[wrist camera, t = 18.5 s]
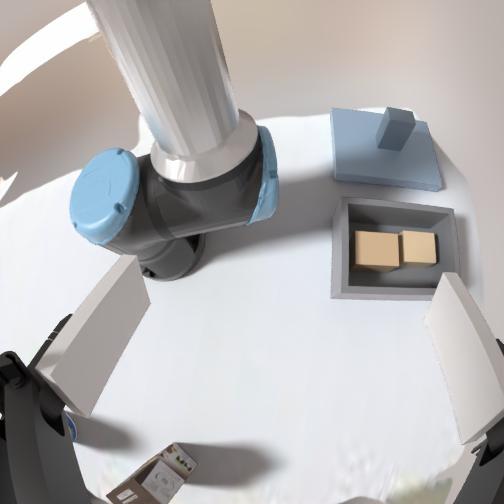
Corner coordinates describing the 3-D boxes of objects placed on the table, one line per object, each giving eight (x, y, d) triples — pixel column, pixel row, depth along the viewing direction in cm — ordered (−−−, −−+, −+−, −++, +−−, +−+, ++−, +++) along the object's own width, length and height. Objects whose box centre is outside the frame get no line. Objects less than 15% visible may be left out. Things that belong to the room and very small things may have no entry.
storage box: (330, 298, 46) (340, 293, 37) (332, 217, 49) (341, 196, 40) (434, 300, 43) (460, 295, 34) (430, 226, 46) (453, 208, 38)
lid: (334, 180, 50) (345, 144, 39) (330, 116, 54) (336, 76, 43) (436, 191, 48) (463, 163, 36) (422, 129, 51) (441, 96, 40)
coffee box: (174, 440, 42) (133, 477, 27) (198, 464, 41) (167, 508, 25) (146, 460, 41) (103, 495, 26) (169, 482, 40) (133, 523, 24)
